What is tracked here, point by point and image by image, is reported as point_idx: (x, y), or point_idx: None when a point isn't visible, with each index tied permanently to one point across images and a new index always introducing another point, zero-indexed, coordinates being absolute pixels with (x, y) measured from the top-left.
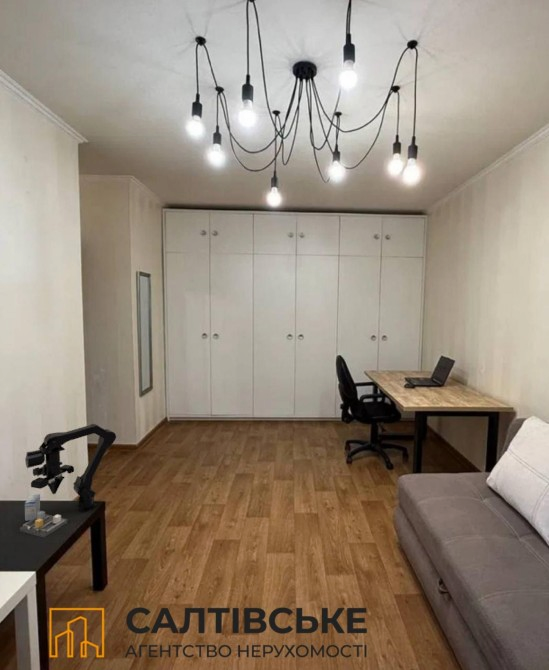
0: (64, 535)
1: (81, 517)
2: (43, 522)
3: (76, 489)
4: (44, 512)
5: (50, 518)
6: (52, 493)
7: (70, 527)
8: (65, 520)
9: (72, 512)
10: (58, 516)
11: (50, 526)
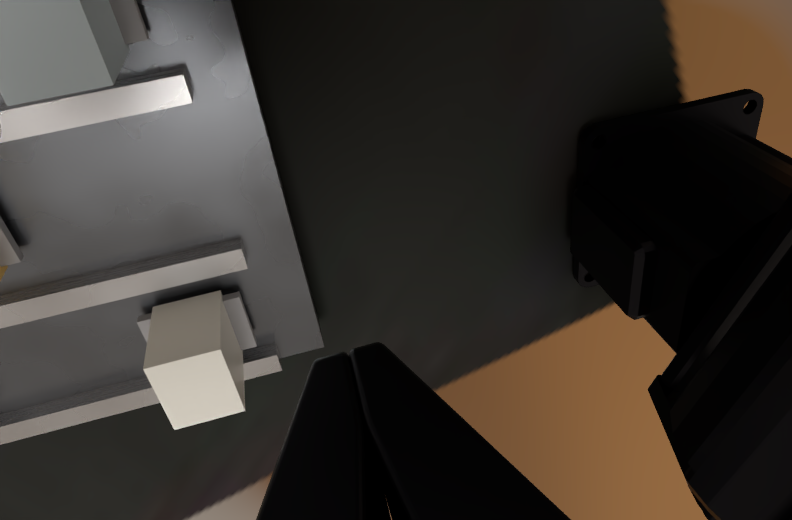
0: (160, 494)
1: (464, 335)
2: (50, 168)
3: (772, 444)
4: (100, 85)
5: (188, 146)
6: (313, 376)
7: (277, 419)
8: (293, 352)
9: (506, 150)
10: (206, 410)
11: (89, 347)
